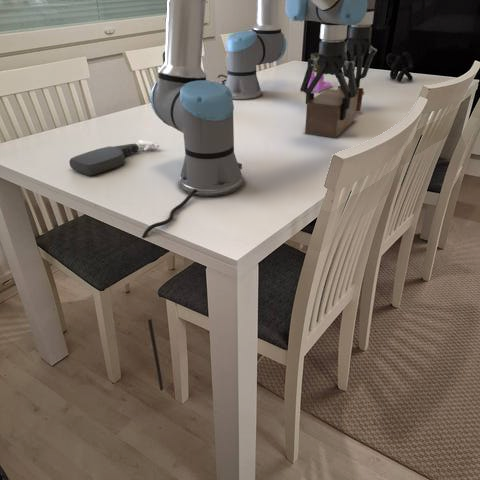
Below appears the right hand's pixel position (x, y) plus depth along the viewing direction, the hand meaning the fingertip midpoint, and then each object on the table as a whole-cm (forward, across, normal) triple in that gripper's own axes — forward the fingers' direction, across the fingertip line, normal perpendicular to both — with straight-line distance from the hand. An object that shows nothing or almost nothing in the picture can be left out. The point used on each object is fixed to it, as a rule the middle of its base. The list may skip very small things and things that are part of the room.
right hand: (352, 97), depth 161 cm
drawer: (+3, 0, +9) cm, 10 cm away
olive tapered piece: (+4, +35, -57) cm, 67 cm away
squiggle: (+4, -5, -54) cm, 55 cm away
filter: (+4, +62, +25) cm, 67 cm away
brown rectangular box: (+4, 0, +23) cm, 23 cm away
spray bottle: (+5, +43, +77) cm, 88 cm away
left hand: (0, 0, +28) cm, 28 cm away
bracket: (+4, +21, -25) cm, 33 cm away
